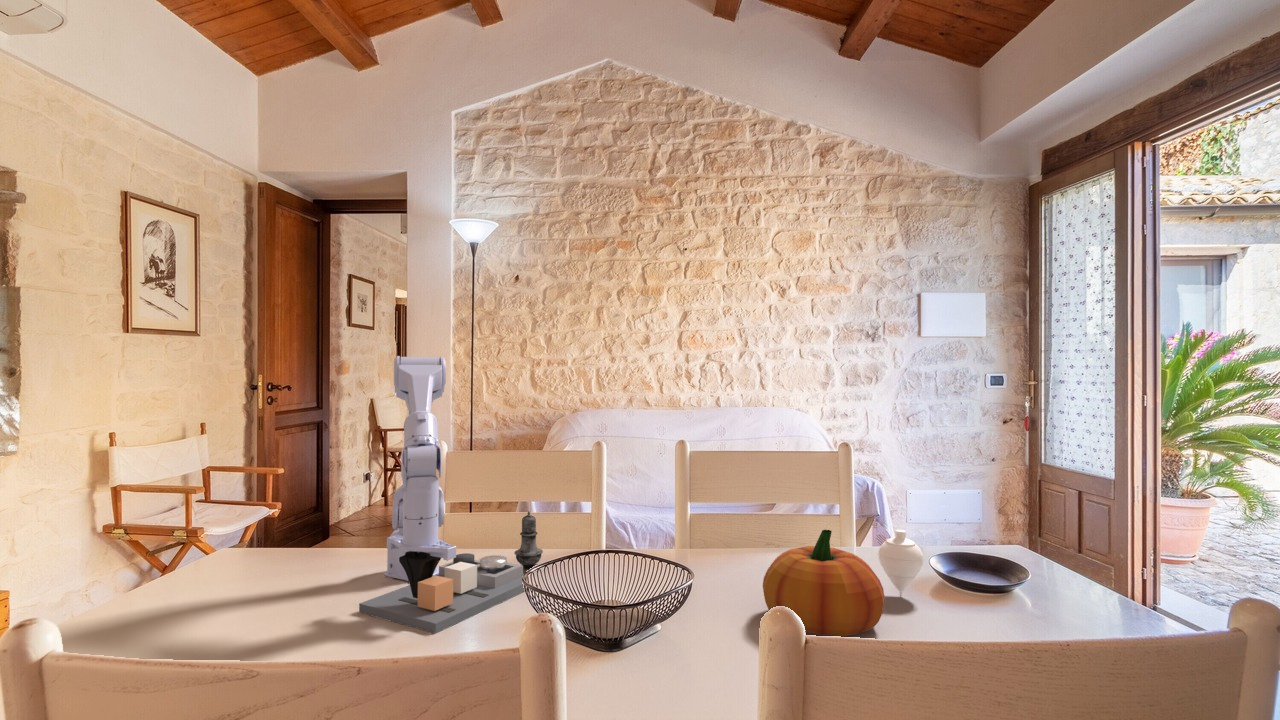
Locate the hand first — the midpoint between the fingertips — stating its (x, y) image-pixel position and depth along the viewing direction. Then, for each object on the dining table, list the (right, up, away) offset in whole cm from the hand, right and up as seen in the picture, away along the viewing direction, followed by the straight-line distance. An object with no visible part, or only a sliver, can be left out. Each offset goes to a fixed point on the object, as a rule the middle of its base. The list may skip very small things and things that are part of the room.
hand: (420, 596), depth 107 cm
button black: (+3, 0, +17) cm, 17 cm away
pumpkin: (+67, -3, -4) cm, 68 cm away
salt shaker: (+14, -4, +24) cm, 28 cm away
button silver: (+9, +1, +13) cm, 16 cm away
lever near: (+3, -1, -2) cm, 4 cm away
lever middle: (+5, -1, +6) cm, 8 cm away
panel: (+4, -3, +7) cm, 8 cm away
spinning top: (+85, -3, +8) cm, 86 cm away
